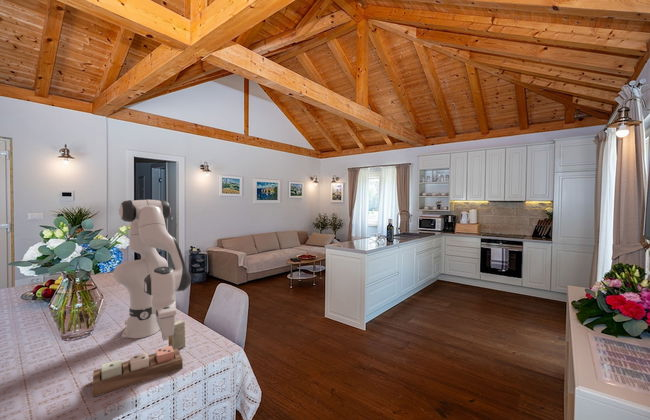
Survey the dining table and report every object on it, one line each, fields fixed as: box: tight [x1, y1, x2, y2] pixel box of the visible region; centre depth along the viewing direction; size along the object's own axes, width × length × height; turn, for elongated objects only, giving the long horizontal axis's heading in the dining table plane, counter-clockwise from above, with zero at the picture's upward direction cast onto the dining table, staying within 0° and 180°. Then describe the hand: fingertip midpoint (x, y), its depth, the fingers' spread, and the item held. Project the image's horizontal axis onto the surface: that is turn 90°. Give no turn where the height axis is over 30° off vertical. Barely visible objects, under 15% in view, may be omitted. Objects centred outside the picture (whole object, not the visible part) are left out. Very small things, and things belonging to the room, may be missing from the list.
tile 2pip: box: [129, 351, 149, 371], centre depth 116 cm, size 6×6×5 cm
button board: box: [92, 347, 184, 398], centre depth 116 cm, size 12×29×4 cm, turn 127°
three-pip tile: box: [155, 345, 174, 364], centre depth 121 cm, size 6×6×5 cm
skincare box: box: [167, 319, 186, 350], centre depth 136 cm, size 6×4×12 cm
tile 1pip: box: [101, 359, 122, 380], centre depth 110 cm, size 6×6×5 cm
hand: (164, 339), depth 121 cm, fingers closed
